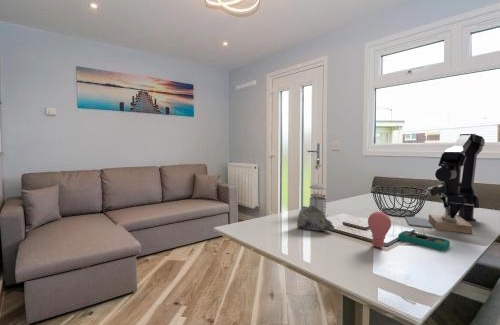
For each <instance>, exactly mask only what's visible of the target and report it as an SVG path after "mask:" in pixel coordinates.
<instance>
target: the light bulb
mask: <svg viewBox="0 0 500 325" xmlns="http://www.w3.org/2000/svg"><path fill="white" fill-rule="evenodd" d="M367 224H368V228H369V230H370V232H371V234H372V235H371V237H372V240H371V244H372V246H374V247H376V248H383V247H384V244H385V239H386V235H387V234H388V233H389V231H390V229H391V227H392V220H391V218H390V216H389V215H388V214H386V213H385V212H382V211H375V212H372V213H371V214H370V215H369V216H368V218H367Z"/></svg>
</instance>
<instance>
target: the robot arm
mask: <svg viewBox="0 0 500 325" xmlns="http://www.w3.org/2000/svg"><path fill="white" fill-rule="evenodd" d="M485 141H486V140H485V138H484V137H483V136H482V135H478V134H475V133H473V132H462V133H460V134H459V136H458V139H457V141H456V142H455V143H454V145H453V146H452V147H449V148H447V149H445V150H444V151H443V153H441V156H440V159H439V162H438V167H439V168H438V169H437V170H436V171H435V173H434V174H435V178H436V179H437V180H438V181H439V182H441V184H438V185H434V186H429V187H427V191H428V194H429V196H431V197H434V196H438V198H439V199H440V200H441V202H442V204H443V205H442V206H443V207H449V211H450V218H454V217H455V216H460V217H462V218H463V219H464V220H465V221H477V219H476V218H474V212H475V210H474V209H477V208H480V206H481V205H480V199H479V196H478V194H477V193H478V192H477V189H476V188H475V187H474V183H475V176H476V168H477V167H476V166H477V158H478V155H479V154H480V153H481V152H482V151H483V147H484V146H485V144H486V143H485ZM461 169H462V176H461Z"/></svg>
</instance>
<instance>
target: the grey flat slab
mask: <svg viewBox="0 0 500 325" xmlns="http://www.w3.org/2000/svg"><path fill="white" fill-rule="evenodd" d="M404 218H405V221H406V222H407V224H408V226H410V227H411V226H412V227H419V228H427V229H433V228H434V226H433V224H432V223H431V222H430V221H429V219H427V218H423V217H415V216H414V217H413V216H405V217H404Z"/></svg>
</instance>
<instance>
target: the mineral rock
mask: <svg viewBox="0 0 500 325" xmlns="http://www.w3.org/2000/svg"><path fill="white" fill-rule="evenodd" d="M296 223H297V224H296V226H297V227H296V228H298V229H304V230H310V231H311V230H312V231H327V230H334V229H335V226H334V224H333V222H332V221H330V220H328V218H327V217H325V215H324V213H323V212H322V211H321V210H319V209H318V208H316V207H315V206H313V205H310V204H309V205H308V206H305V205H303V206H301V208H300V210H299V213H298V218H297V222H296Z"/></svg>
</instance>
